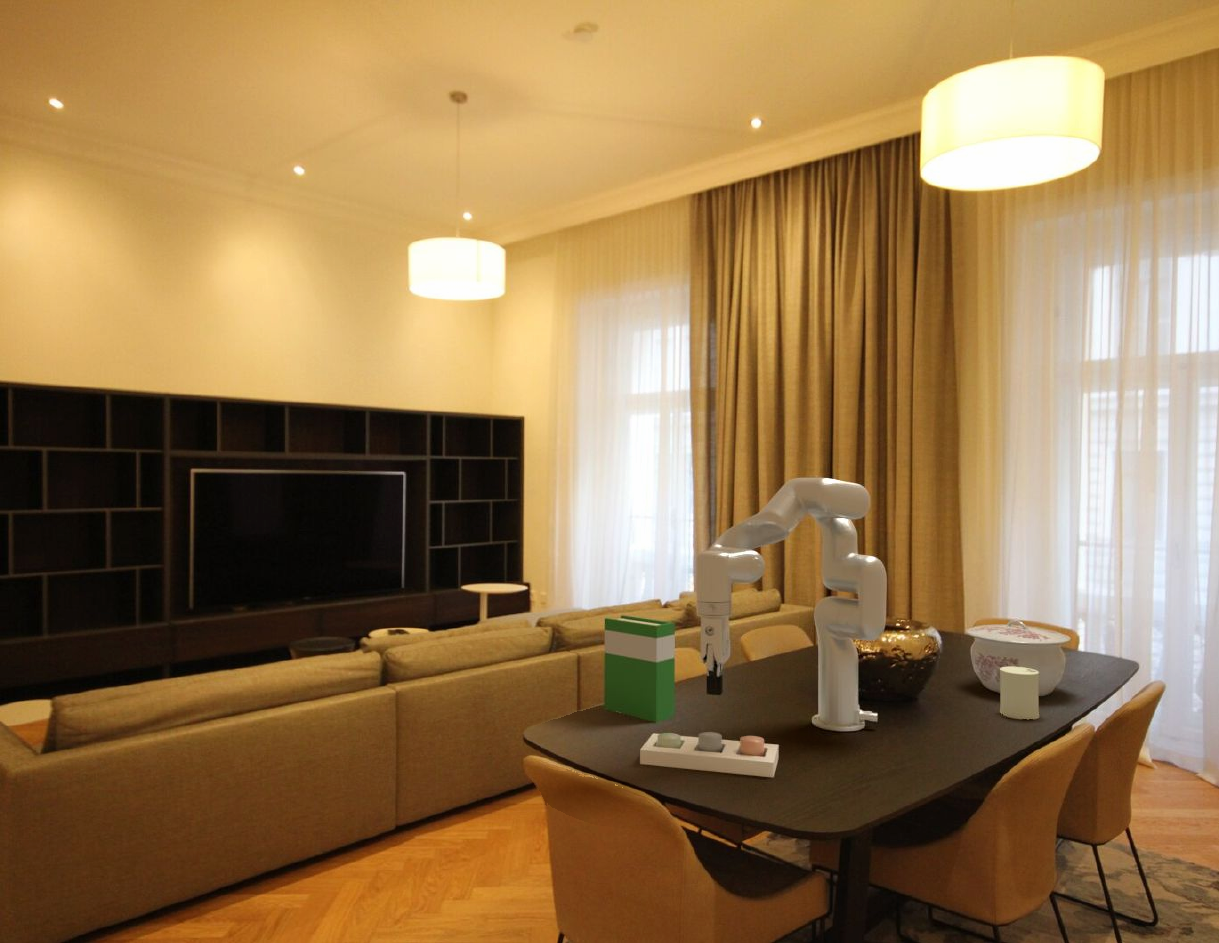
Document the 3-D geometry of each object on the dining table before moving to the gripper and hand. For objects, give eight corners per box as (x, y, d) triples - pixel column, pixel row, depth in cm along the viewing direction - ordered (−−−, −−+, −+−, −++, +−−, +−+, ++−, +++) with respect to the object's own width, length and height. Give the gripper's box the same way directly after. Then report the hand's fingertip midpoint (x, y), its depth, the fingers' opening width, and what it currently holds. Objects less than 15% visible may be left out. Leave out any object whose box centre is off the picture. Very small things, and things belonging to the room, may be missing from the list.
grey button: (723, 751, 179) (723, 733, 180) (719, 759, 175) (719, 740, 175) (700, 749, 181) (700, 731, 181) (696, 756, 176) (696, 737, 176)
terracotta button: (765, 755, 177) (765, 736, 177) (762, 763, 172) (762, 743, 172) (741, 753, 178) (741, 734, 178) (738, 760, 174) (738, 741, 174)
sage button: (682, 752, 182) (682, 734, 182) (678, 759, 177) (678, 740, 177) (660, 750, 183) (660, 732, 183) (655, 757, 179) (655, 738, 179)
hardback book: (604, 709, 218) (604, 618, 219) (622, 703, 224) (623, 615, 224) (656, 722, 207) (656, 626, 207) (674, 716, 212) (674, 622, 212)
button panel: (778, 758, 180) (778, 744, 180) (773, 777, 168) (773, 762, 168) (653, 746, 187) (653, 733, 188) (640, 763, 176) (640, 749, 176)
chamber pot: (1071, 709, 219) (1070, 631, 219) (959, 696, 233) (959, 622, 233) (1072, 687, 243) (1071, 616, 244) (971, 676, 257) (970, 609, 257)
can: (1044, 720, 209) (1044, 673, 209) (1005, 718, 211) (1004, 671, 211) (1033, 711, 218) (1033, 665, 218) (995, 709, 220) (995, 663, 220)
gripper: (725, 615, 170) (725, 704, 170) (737, 604, 184) (737, 686, 184) (689, 613, 172) (689, 701, 172) (703, 602, 186) (704, 684, 186)
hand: (714, 693), depth 178 cm, fingers closed
